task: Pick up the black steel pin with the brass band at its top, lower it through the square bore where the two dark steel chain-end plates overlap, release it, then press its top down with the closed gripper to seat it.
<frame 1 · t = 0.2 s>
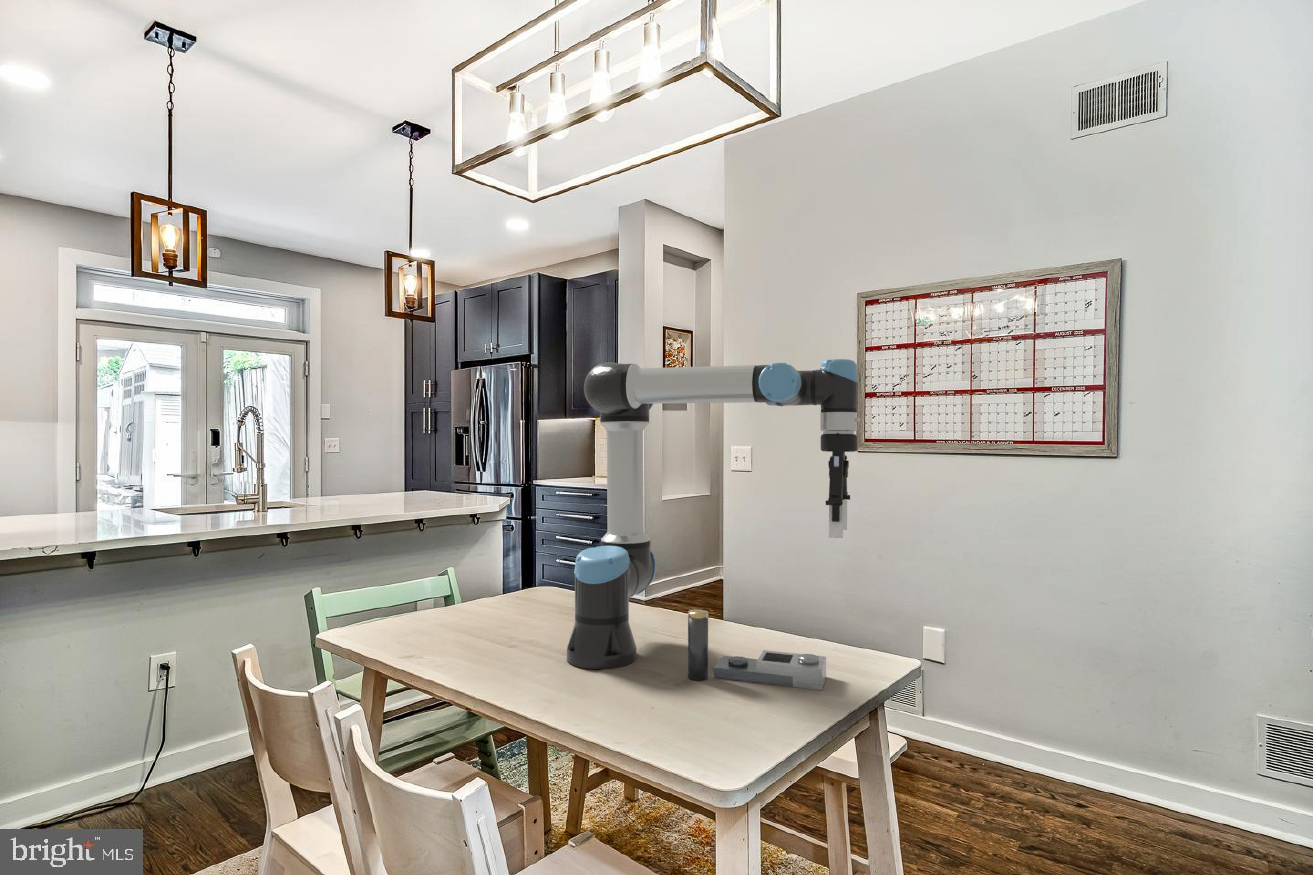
hand: (838, 533, 144), 27 cm above the table, fingers open, 13 cm apart
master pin: (697, 677, 135), on the table
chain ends: (767, 676, 136), on the table
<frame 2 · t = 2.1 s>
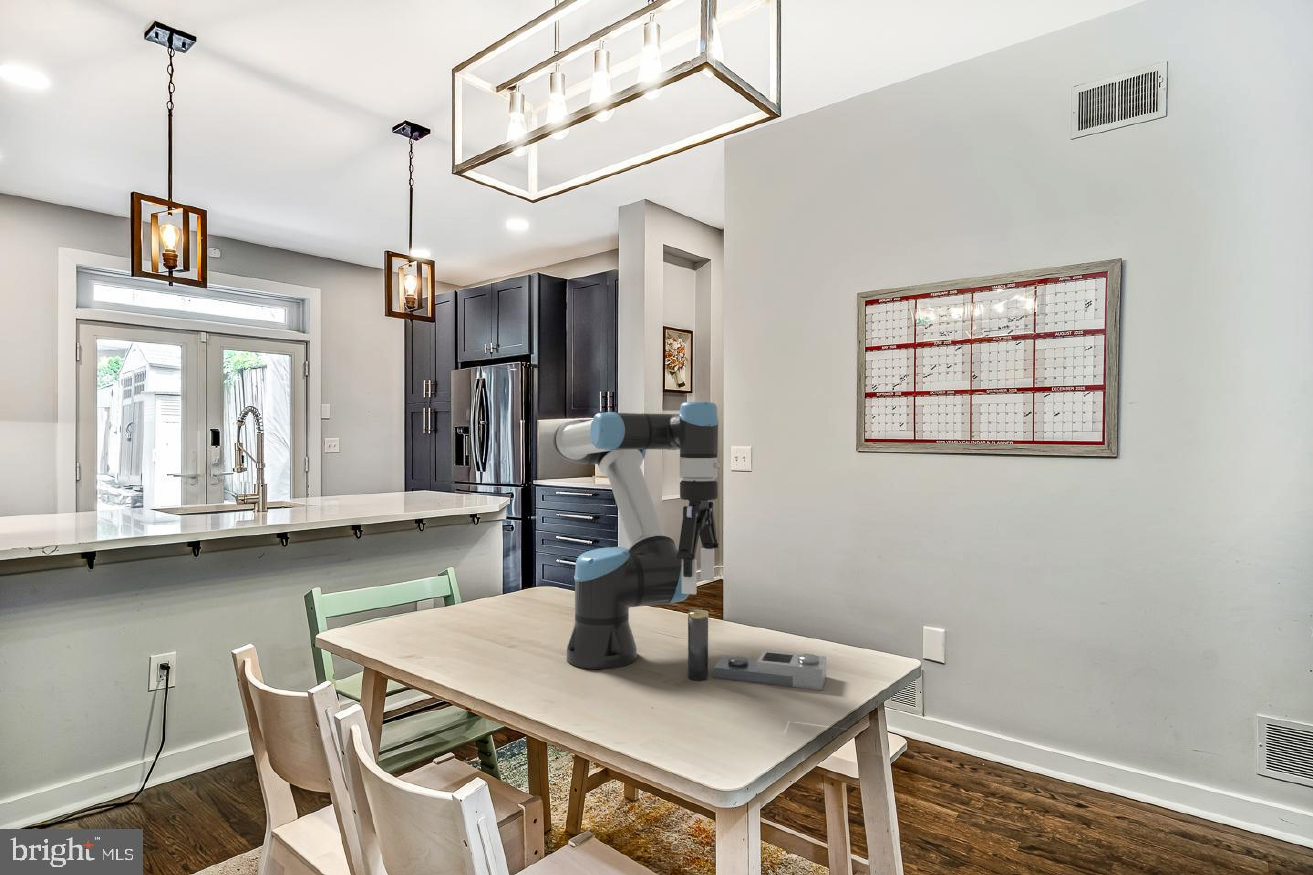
hand: (698, 586, 135), 18 cm above the table, fingers open, 13 cm apart
nothing on the table moved.
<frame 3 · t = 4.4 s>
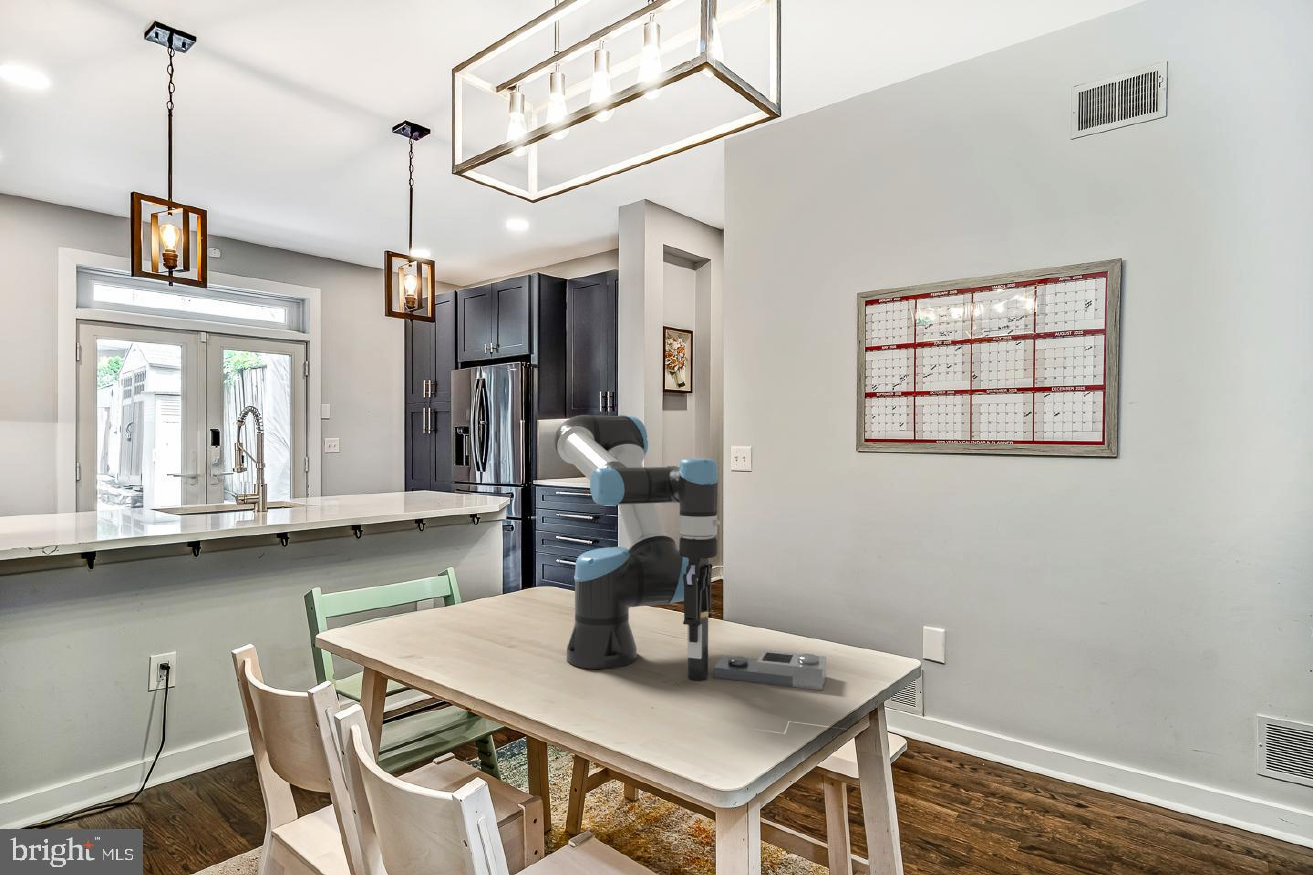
hand: (697, 653, 136), 5 cm above the table, fingers closed on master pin, 4 cm apart
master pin: (697, 677, 135), on the table, touching gripper
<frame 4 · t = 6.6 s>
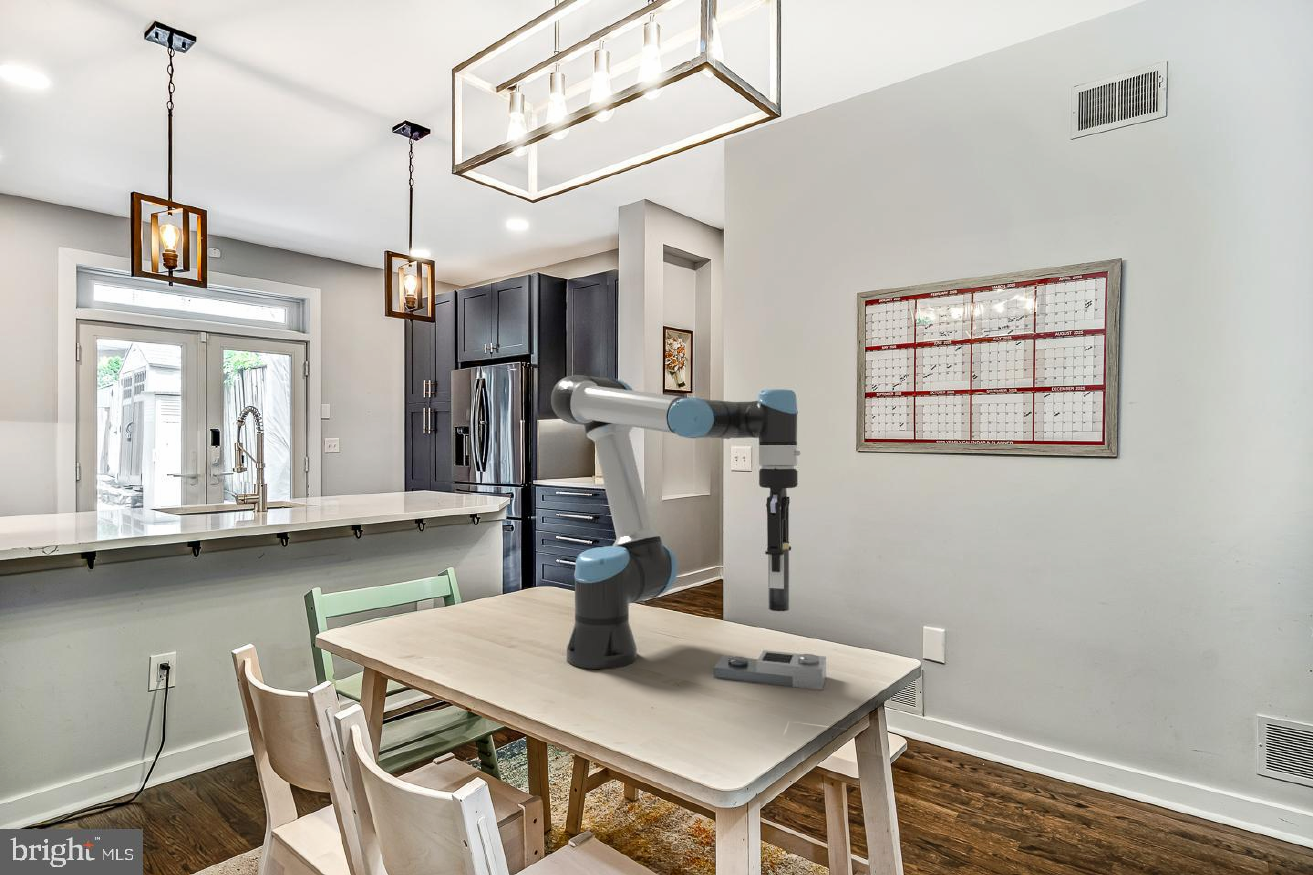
hand: (778, 585, 135), 18 cm above the table, fingers closed on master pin, 4 cm apart
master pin: (778, 608, 135), point 14 cm above the table, touching gripper
when the fingers open (6 cm above the table, at t = 9.3 s): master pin stays where it is, resting in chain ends.
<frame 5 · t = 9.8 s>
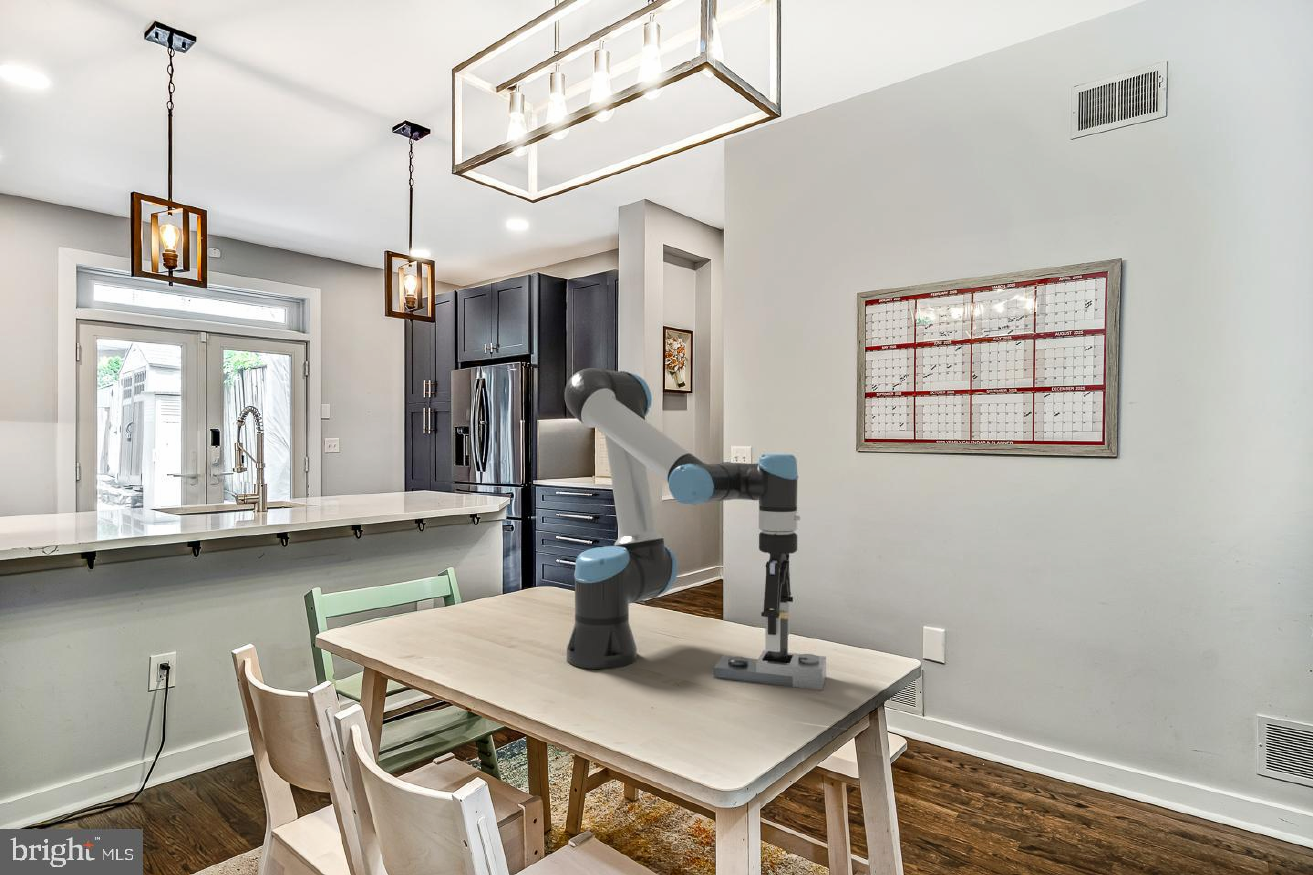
hand: (777, 642, 135), 7 cm above the table, fingers open, 11 cm apart
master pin: (777, 677, 135), resting in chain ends
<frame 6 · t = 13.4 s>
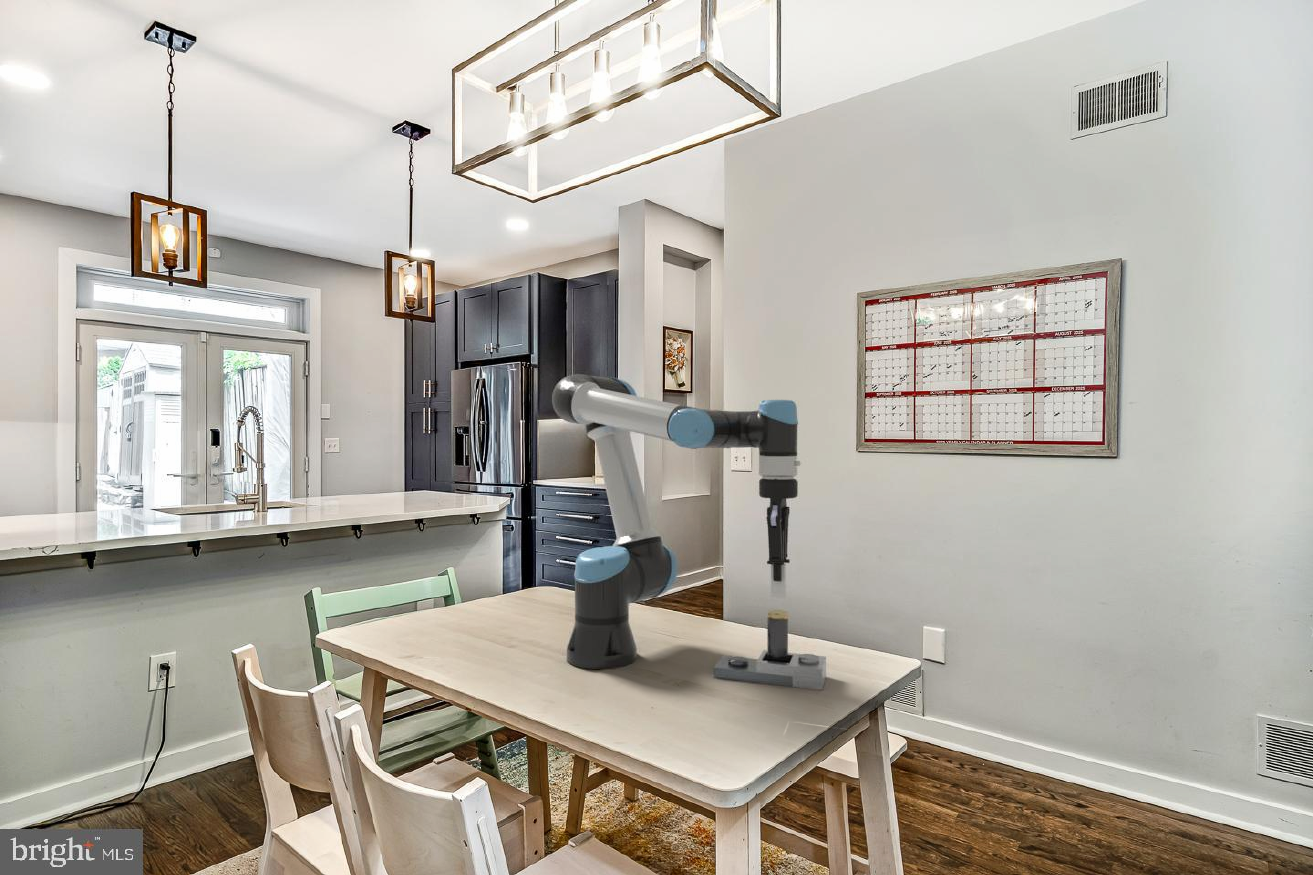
hand: (778, 596, 135), 16 cm above the table, fingers closed
nothing on the table moved.
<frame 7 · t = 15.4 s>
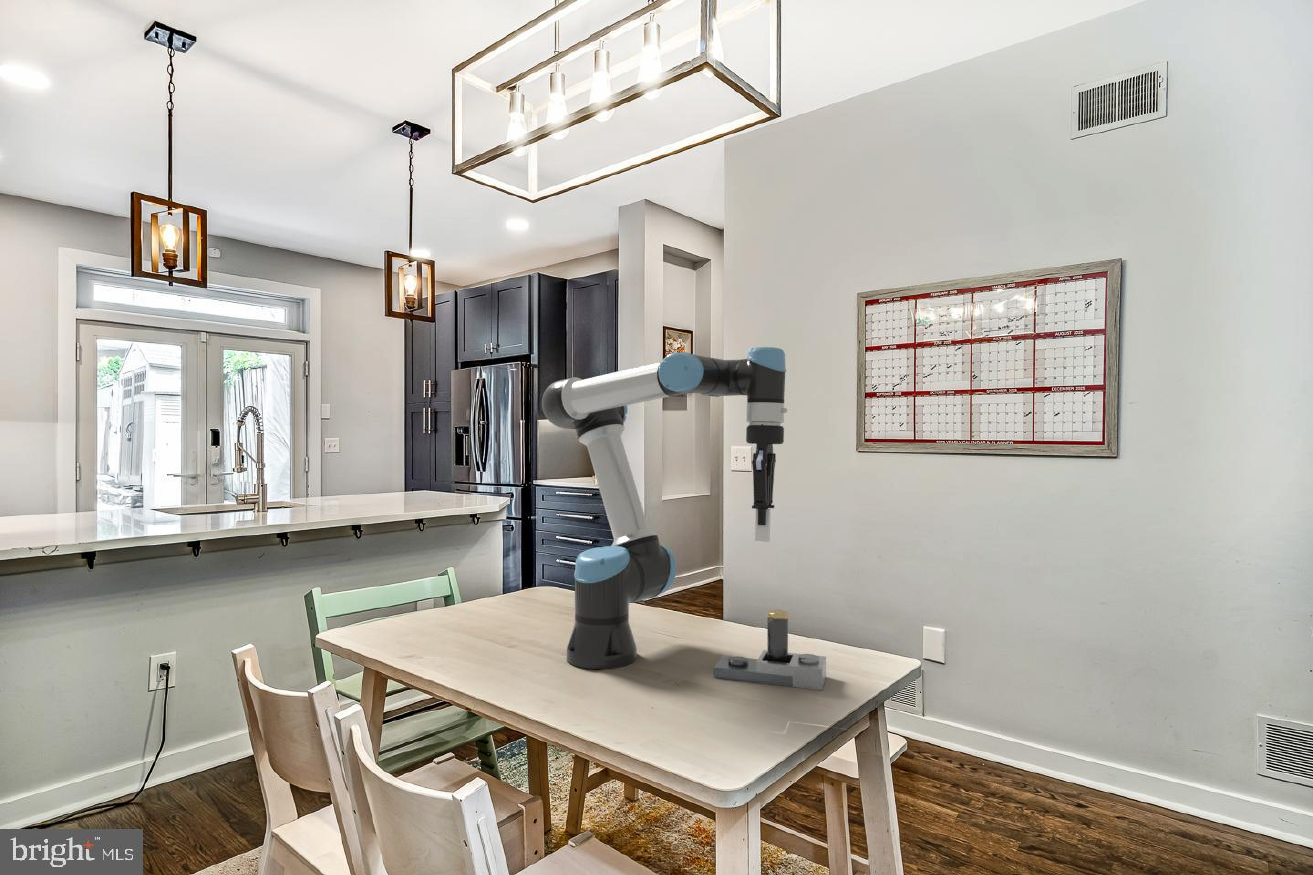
hand: (762, 540, 138), 27 cm above the table, fingers closed
nothing on the table moved.
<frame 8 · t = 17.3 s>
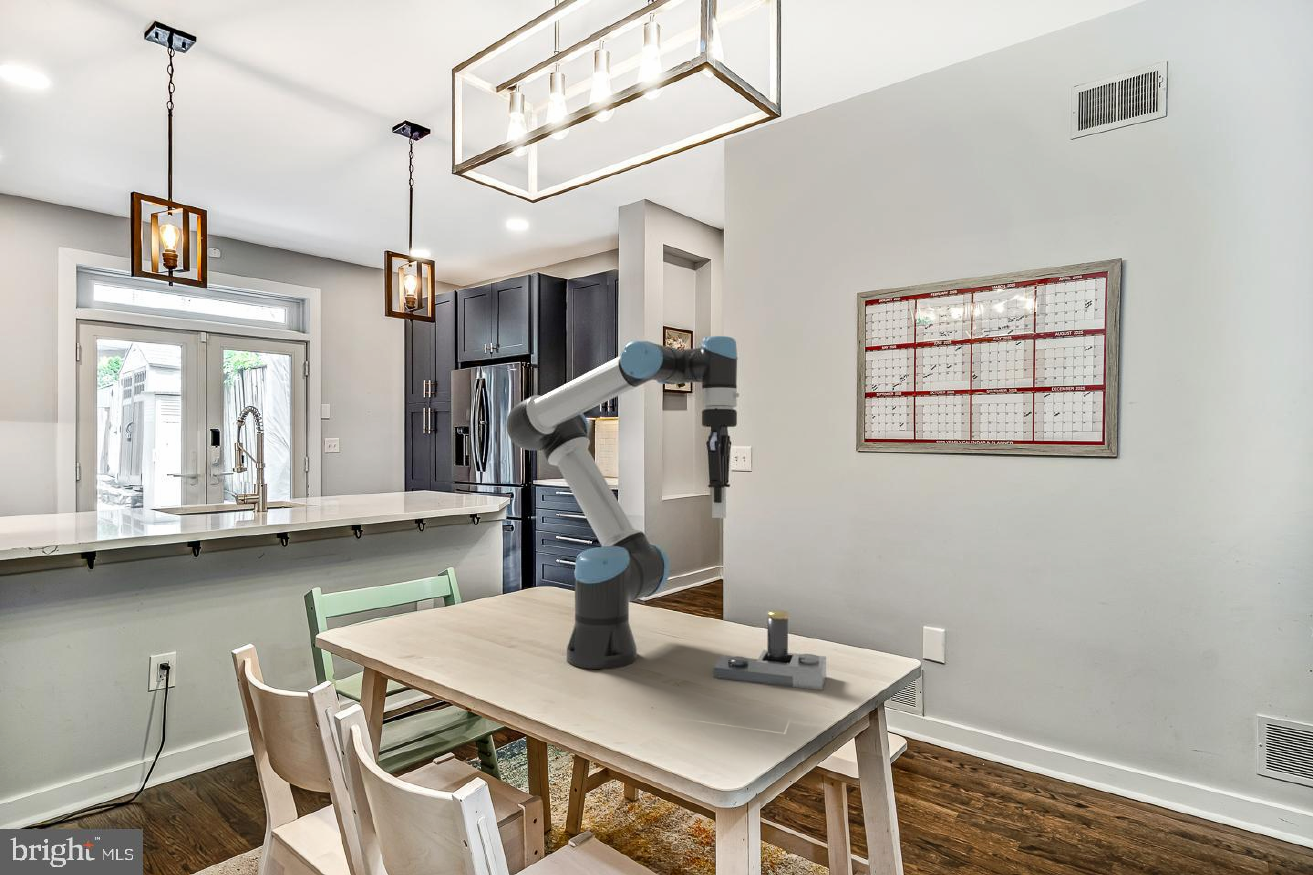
hand: (719, 517, 148), 30 cm above the table, fingers closed
nothing on the table moved.
at the end: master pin 0.0 cm from the target spot on the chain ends, point 0.0 cm above the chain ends's base; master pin tilted 0°; the gripper is holding nothing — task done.
